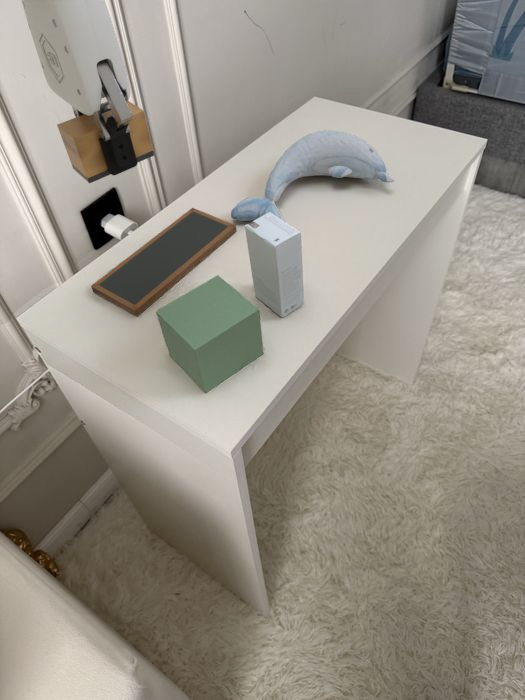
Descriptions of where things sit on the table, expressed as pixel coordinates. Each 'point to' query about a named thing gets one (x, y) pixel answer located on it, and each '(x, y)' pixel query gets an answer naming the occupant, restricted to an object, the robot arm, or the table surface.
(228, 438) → the table surface
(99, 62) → the robot arm
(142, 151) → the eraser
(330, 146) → the sculpture
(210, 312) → the sage green box
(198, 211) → the chalkboard
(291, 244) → the cosmetic box
